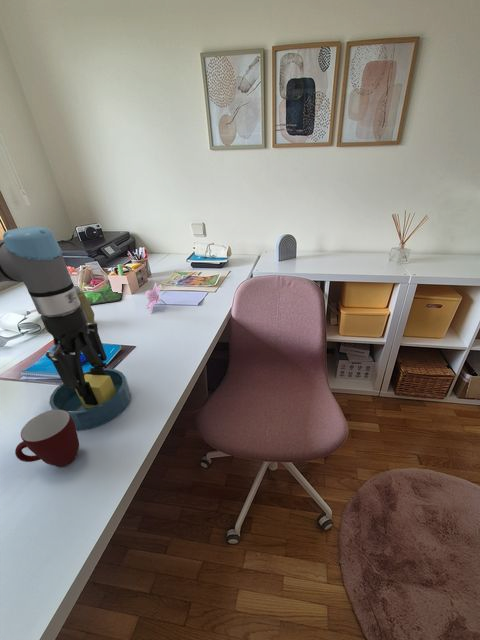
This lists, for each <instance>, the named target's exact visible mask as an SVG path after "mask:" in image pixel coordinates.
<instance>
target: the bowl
mask: <svg viewBox="0 0 480 640" xmlns="http://www.w3.org/2000/svg"><path fill="white" fill-rule="evenodd" d="M103 369H104V371H105V374H106V376H110V377H111V380H112V382H113V385H114V387H115V390H116V392H117V393H116V395H114V396H113V397H112V398H110V399H109V400H108V401H106V402H104V403H102V404H100V405H98V406H96V407H93V408H84V406H83V404H82V402H81V400H80V398H79V396H78V394H77V392H76V390H75V389H69V388H66V387H65V386H64V384H63V382H61V383H60V384H59V385H58V386H57V387H56V388H55V389H53V391H52V393H51V395H50V397H49V401H48V403H49V406H50V408H51V411H52V410H64V411H67V412H68V413H69V414H70V416H71V418H72V420H73V422H74V424H75V427H76V431H77V430H79V431H80V430H88V429H93V428H97V427H99V426H102V425H105V424H106V423H109V422H110V421H112V420H114V419H115V418H117V417H118V416H119V415H121V414H122V413H123V412H124V411H125V410H126V409H127V407H128V405H130V402H131V400H132V394H131V388H130V385H129V384H128V383H129V382H128V380H127V377H126V376H125V374H124V373H123V372H122V371H120V370H119V369H114V368H108V367H107V368H106V367H103ZM83 373H84V375H85V374H89V375H92V374H91V371H90V369H89V370H86V371H83Z"/></svg>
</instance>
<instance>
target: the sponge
mask: <svg viewBox="0 0 480 640" xmlns="http://www.w3.org/2000/svg"><path fill="white" fill-rule="evenodd" d="M84 378H85V382H89V383H90V386H91V389H92V391H93V393H94V395H95V398H96V400H97V402H98V404H97V405H86V404H85V402H84V400H83V398H82V397H80V396H79V394H78V392H77V390H76V389H75V390H76V392H77V394H78V396H79V398H80V400H81V402H82V404H83V406H84V408H93V407H96V406H98V405H100V404H102V403H104V402H106V401H108V400H109V399H110V398H112V397H113V396H114V395H116V393H117V392H116V390H115V387H114V385H113V382H112V380H111V377H110V376H105V375H89V374H85V375H84Z"/></svg>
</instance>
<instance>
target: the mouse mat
mask: <svg viewBox="0 0 480 640" xmlns="http://www.w3.org/2000/svg"><path fill="white" fill-rule="evenodd" d="M80 292H83V291H80ZM83 293H84V294H85V296H86V298H87V300H88V302H89V304H90V306H94V305H99V304H100V305H102V304H108V303H114V302H119V301H122V299H123V292H122V293H118V292H113V291H112V289H111V286H110V284H109V285H107V286H106V287H105V288H103V289H101V290H99V291H97V292H83Z"/></svg>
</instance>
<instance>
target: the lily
mask: <svg viewBox="0 0 480 640" xmlns="http://www.w3.org/2000/svg"><path fill="white" fill-rule="evenodd" d="M162 286H163V285H162V284H160V285H157V282H155V283H154V284H153V288H152V289H148V290H147V291H145V296H146V299H147V300H148V301H147V303H146V305H145V306H146V307H145V308H146V309H148V308H149V309H148V310H149V313H150V314H152V312H153V309H154V306H155V304H161V302H162V303H163V304H164V305H165V306H167V304H166V302H165V301H164V300H163V299H162V298H160V296H159V295H160V294H159V293H160V290H161V288H162Z"/></svg>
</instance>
